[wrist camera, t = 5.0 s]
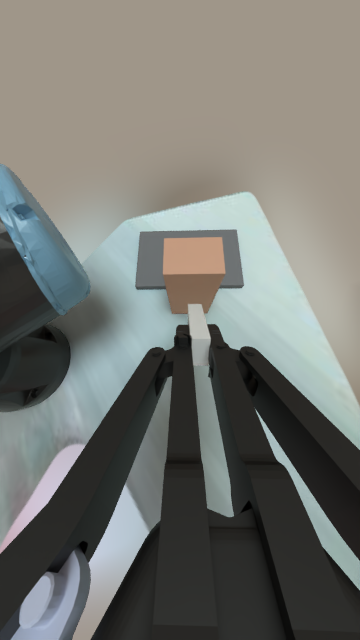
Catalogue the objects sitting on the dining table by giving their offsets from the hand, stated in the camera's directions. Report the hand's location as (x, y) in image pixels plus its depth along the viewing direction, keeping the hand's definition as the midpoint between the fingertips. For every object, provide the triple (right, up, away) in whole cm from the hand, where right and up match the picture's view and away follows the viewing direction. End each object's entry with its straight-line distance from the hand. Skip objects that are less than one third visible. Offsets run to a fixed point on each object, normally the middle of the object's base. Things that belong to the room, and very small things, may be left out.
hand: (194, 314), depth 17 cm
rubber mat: (0, +13, +16) cm, 21 cm away
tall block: (0, +3, +14) cm, 14 cm away
